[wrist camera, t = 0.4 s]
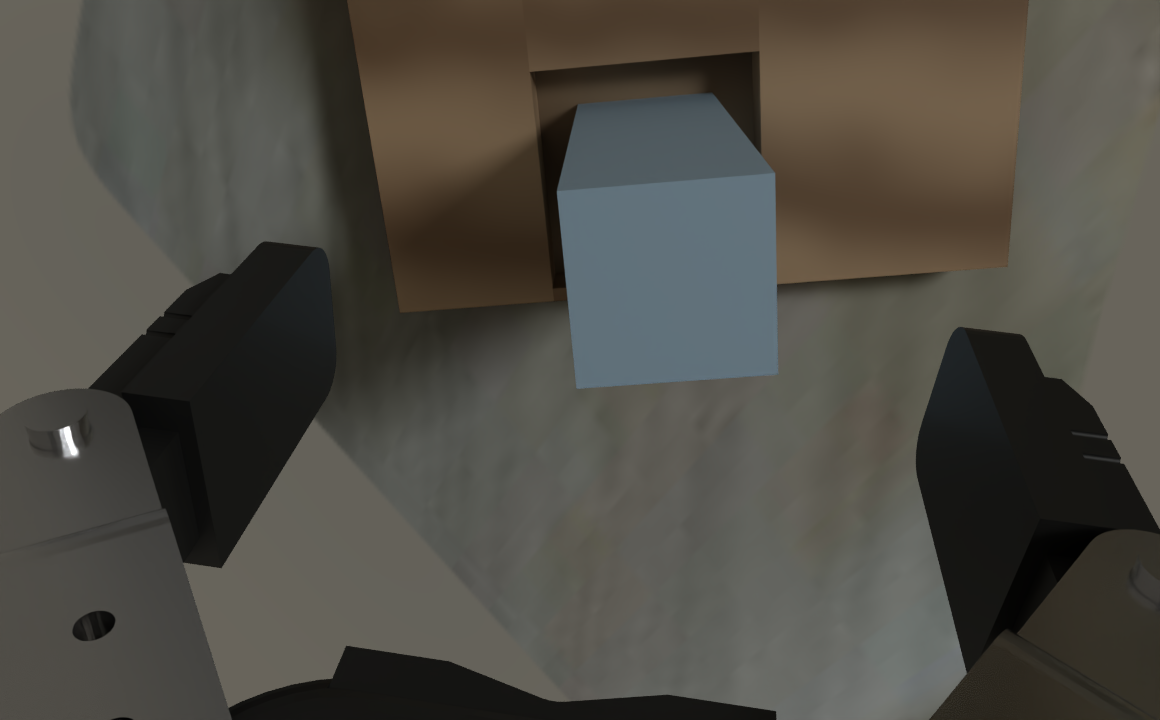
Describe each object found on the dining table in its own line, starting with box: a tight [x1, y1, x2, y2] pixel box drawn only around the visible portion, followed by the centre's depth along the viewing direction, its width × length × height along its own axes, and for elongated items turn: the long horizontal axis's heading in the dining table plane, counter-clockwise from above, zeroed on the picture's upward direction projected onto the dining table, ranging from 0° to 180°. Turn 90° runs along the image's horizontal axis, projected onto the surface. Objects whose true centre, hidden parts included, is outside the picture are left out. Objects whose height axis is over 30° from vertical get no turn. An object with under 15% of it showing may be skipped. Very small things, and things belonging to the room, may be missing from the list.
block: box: [557, 92, 778, 389], centre depth 30 cm, size 5×5×15 cm
